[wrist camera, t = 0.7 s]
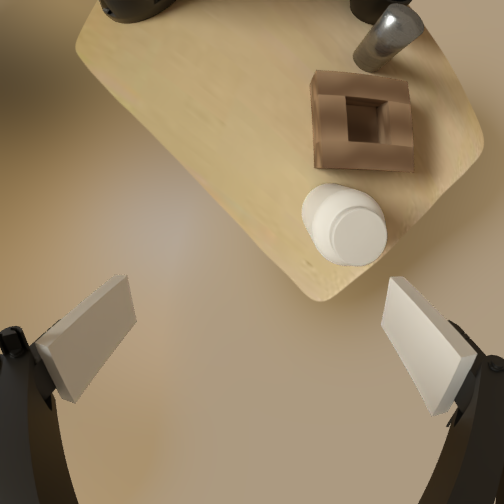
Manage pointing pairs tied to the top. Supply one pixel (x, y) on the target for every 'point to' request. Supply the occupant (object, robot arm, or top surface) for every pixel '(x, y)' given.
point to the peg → (388, 37)
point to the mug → (372, 8)
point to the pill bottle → (345, 224)
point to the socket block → (361, 122)
